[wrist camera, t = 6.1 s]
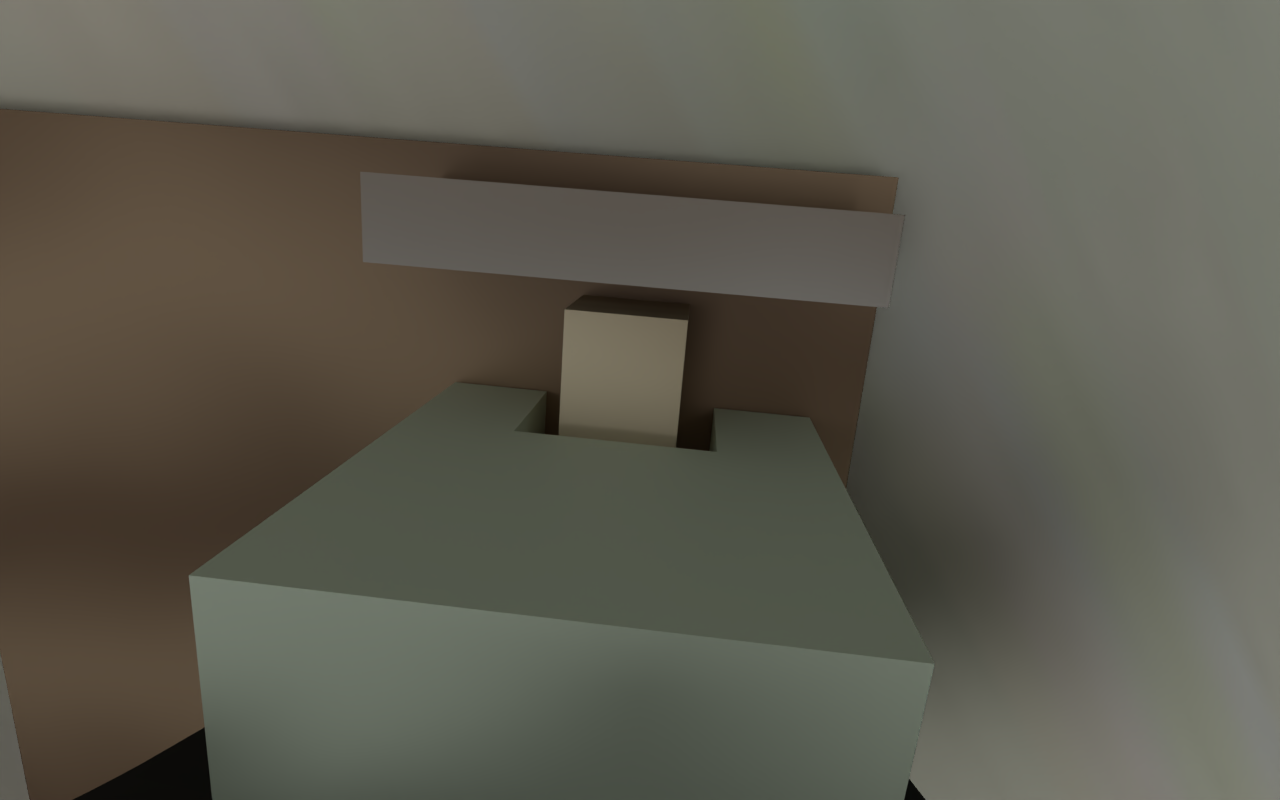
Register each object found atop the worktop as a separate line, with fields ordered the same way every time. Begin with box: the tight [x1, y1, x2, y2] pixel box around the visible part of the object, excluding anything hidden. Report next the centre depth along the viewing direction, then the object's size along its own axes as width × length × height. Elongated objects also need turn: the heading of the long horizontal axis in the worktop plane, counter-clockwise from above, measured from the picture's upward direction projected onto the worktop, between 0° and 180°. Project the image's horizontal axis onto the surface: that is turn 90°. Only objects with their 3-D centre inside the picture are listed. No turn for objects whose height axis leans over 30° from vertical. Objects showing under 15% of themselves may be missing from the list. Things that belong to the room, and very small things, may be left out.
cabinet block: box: [189, 382, 935, 800], centre depth 9 cm, size 8×6×6 cm
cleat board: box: [0, 109, 905, 800], centre depth 12 cm, size 15×15×4 cm
